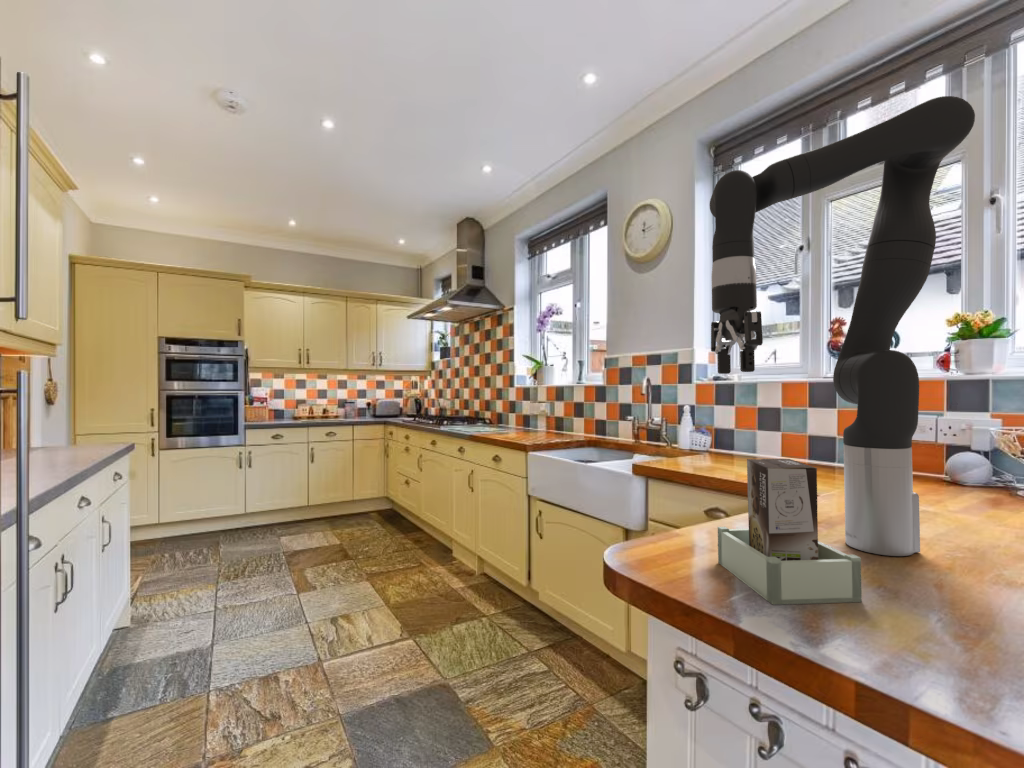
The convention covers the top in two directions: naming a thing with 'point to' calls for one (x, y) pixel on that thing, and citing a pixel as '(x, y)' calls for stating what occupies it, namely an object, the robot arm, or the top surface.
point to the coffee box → (783, 508)
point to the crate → (791, 572)
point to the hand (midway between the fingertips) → (735, 372)
